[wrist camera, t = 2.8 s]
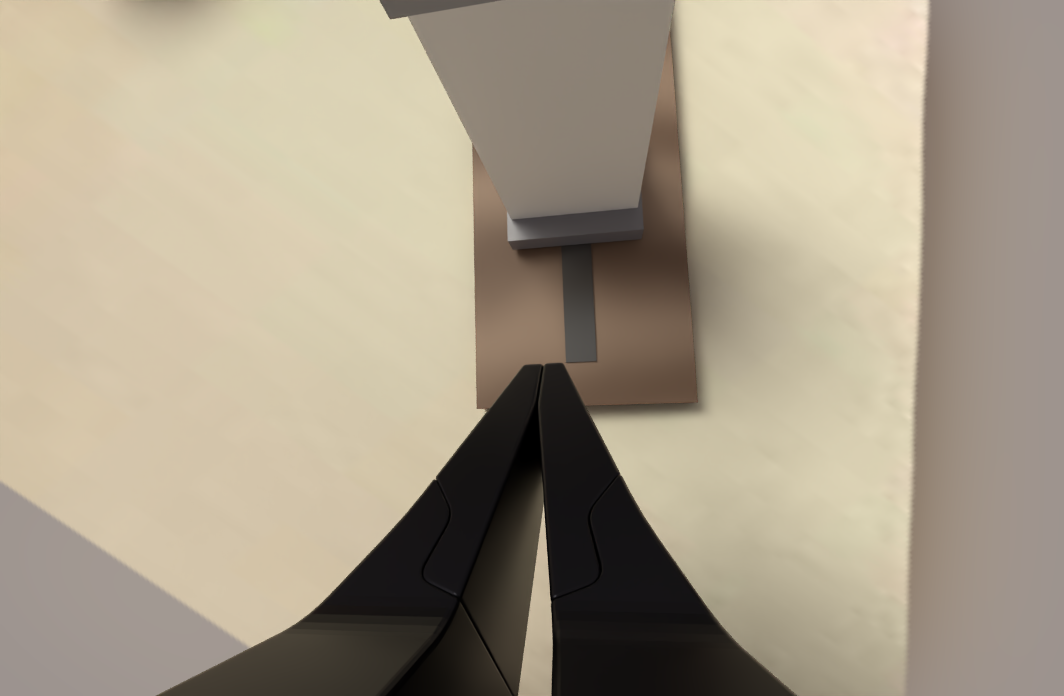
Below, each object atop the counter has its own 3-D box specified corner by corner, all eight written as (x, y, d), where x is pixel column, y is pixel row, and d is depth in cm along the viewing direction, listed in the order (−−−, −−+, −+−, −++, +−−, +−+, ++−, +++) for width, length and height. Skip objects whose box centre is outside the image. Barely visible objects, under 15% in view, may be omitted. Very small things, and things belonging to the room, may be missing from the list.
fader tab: (645, 238, 20) (719, -37, 8) (508, 250, 21) (365, 22, 8) (639, 136, 21) (697, -283, 8) (506, 152, 22) (368, -201, 9)
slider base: (692, 402, 21) (714, 402, 17) (483, 408, 22) (456, 410, 18) (656, -89, 24) (667, -191, 20) (475, -55, 25) (450, -142, 21)
